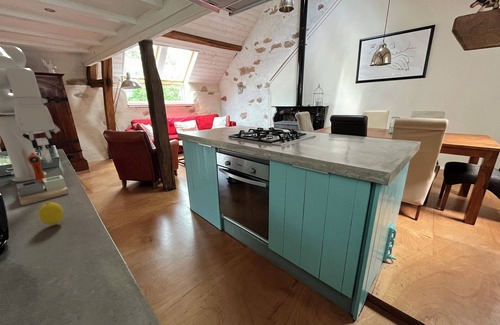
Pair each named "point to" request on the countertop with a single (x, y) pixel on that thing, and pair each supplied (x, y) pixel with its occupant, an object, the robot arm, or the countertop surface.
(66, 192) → the board
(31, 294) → the countertop surface
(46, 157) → the light grey block
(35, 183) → the block
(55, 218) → the lemon
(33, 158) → the toy drill
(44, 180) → the pale green hollow frame
